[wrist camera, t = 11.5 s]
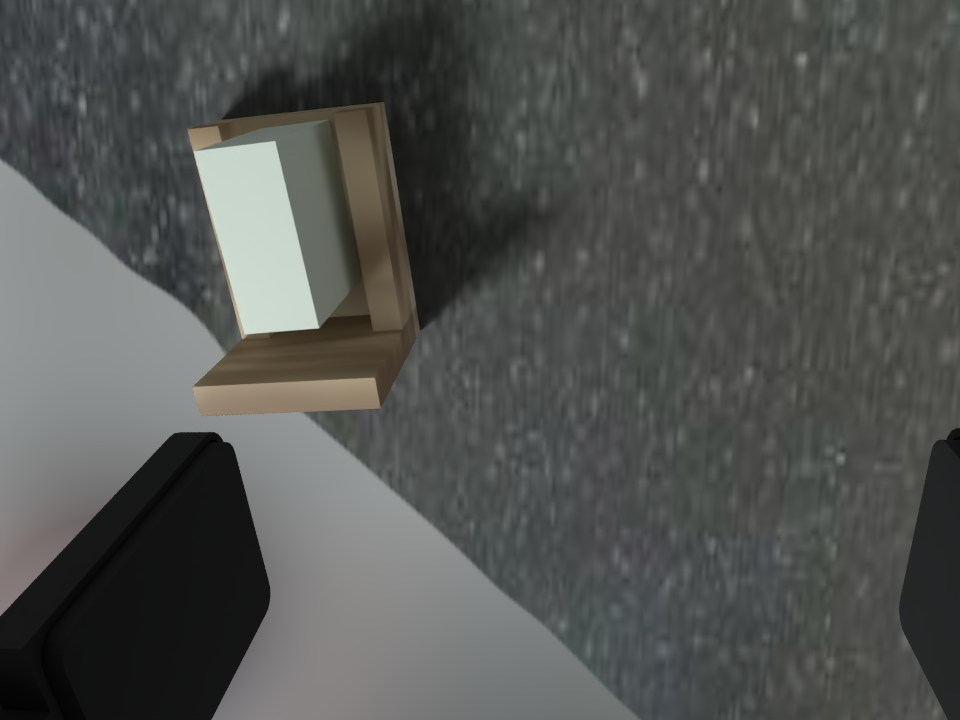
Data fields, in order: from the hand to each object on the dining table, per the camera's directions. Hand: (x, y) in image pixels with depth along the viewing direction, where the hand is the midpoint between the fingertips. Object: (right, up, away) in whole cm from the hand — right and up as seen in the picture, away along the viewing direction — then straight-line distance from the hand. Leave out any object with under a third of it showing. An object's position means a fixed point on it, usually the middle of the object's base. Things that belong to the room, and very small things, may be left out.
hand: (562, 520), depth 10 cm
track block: (-9, +9, +29) cm, 32 cm away
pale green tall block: (-10, +10, +27) cm, 31 cm away
